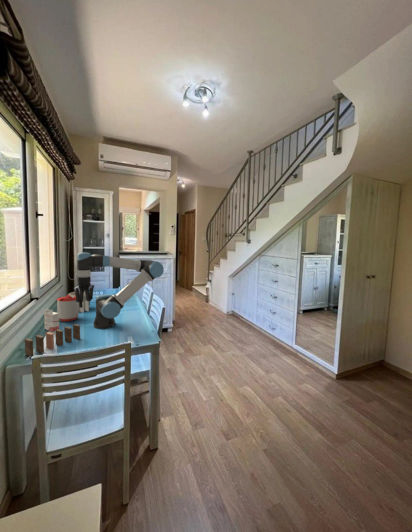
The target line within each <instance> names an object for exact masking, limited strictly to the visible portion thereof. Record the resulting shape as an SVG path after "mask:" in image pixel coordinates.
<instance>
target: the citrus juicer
mask: <svg viewBox="0 0 412 532" xmlns="http://www.w3.org/2000/svg"><path fill="white" fill-rule="evenodd" d="M56 301H57V302H56V303H57V304H56V305H57V307H56V309H57V311H56V312H57V313H59V321H61V322H74V321H76V320H77V319H78V317H79V314H80V311H79V302H76V296H74V297H73V298H72V297H71V296H70V295H68V294H67V295H66V296H61V297H58V298H56ZM73 320H74V321H73Z"/></svg>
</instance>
